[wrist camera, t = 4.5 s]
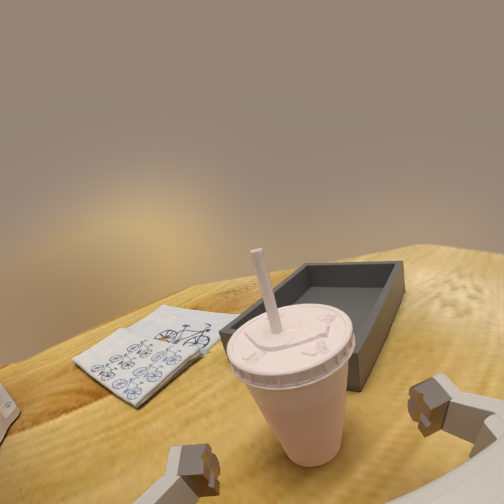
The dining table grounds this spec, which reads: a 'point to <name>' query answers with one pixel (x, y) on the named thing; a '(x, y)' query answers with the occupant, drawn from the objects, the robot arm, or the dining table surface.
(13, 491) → the dining table surface
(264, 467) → the dining table surface
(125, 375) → the folded bicycle print cloth
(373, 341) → the tray
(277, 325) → the smoothie
